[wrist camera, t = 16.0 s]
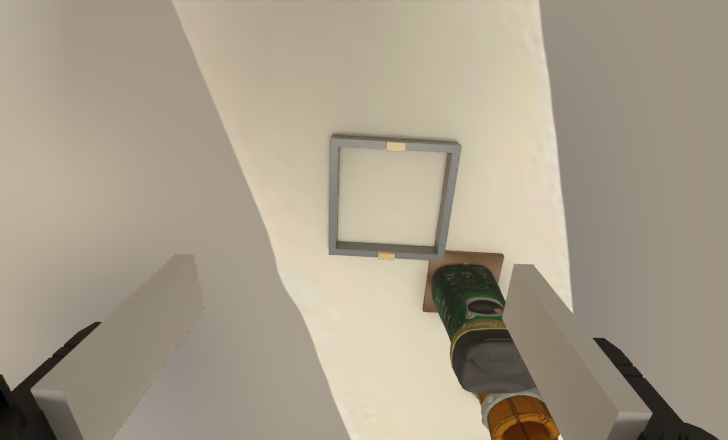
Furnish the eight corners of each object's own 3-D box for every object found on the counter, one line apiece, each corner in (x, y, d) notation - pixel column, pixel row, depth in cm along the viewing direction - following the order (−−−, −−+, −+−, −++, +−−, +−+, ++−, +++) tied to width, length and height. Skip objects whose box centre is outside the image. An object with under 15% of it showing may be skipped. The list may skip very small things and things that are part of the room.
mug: (456, 359, 62) (480, 441, 48) (547, 326, 59) (601, 403, 45) (477, 399, 65) (505, 486, 52) (565, 370, 62) (620, 454, 48)
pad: (431, 249, 54) (431, 252, 53) (502, 253, 54) (504, 256, 53) (422, 308, 58) (423, 312, 57) (488, 312, 58) (490, 316, 57)
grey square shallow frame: (332, 135, 47) (330, 139, 45) (457, 142, 47) (462, 146, 45) (330, 246, 54) (328, 256, 51) (440, 253, 54) (444, 263, 51)
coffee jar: (429, 305, 57) (454, 405, 39) (432, 262, 54) (460, 350, 36) (489, 306, 56) (540, 406, 39) (495, 262, 53) (554, 351, 36)
